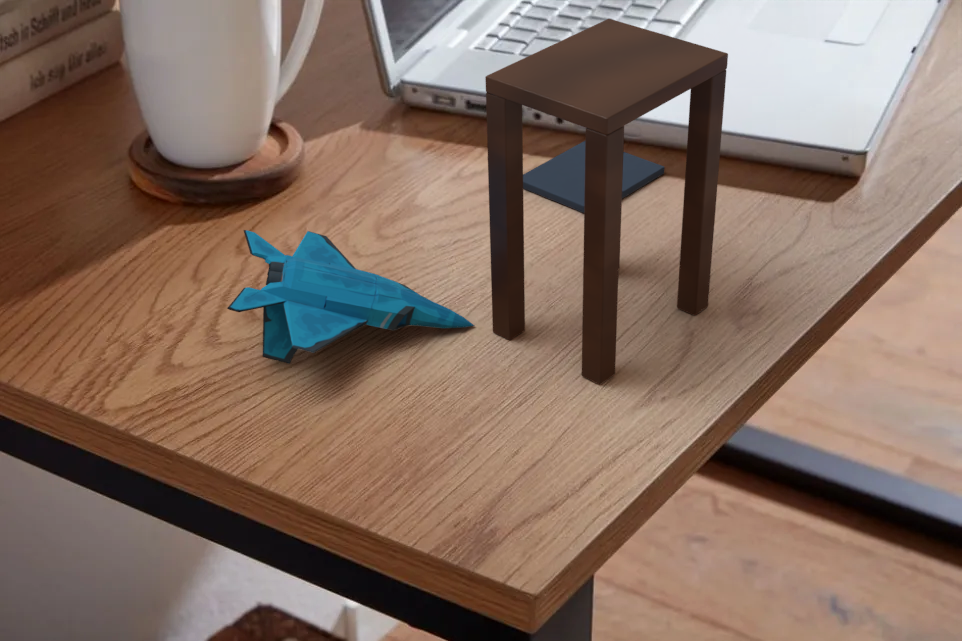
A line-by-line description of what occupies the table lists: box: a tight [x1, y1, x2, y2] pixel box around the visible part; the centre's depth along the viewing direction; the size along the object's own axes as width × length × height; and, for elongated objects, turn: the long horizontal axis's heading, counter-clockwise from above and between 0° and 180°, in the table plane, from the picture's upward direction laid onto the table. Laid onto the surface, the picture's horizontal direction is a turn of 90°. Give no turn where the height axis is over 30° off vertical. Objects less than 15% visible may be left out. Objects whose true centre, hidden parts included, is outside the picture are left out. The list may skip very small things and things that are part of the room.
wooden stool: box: [484, 18, 729, 385], centre depth 65 cm, size 7×9×14 cm
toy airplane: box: [226, 229, 475, 365], centre depth 68 cm, size 12×10×4 cm
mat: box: [523, 140, 666, 214], centre depth 81 cm, size 6×7×1 cm
